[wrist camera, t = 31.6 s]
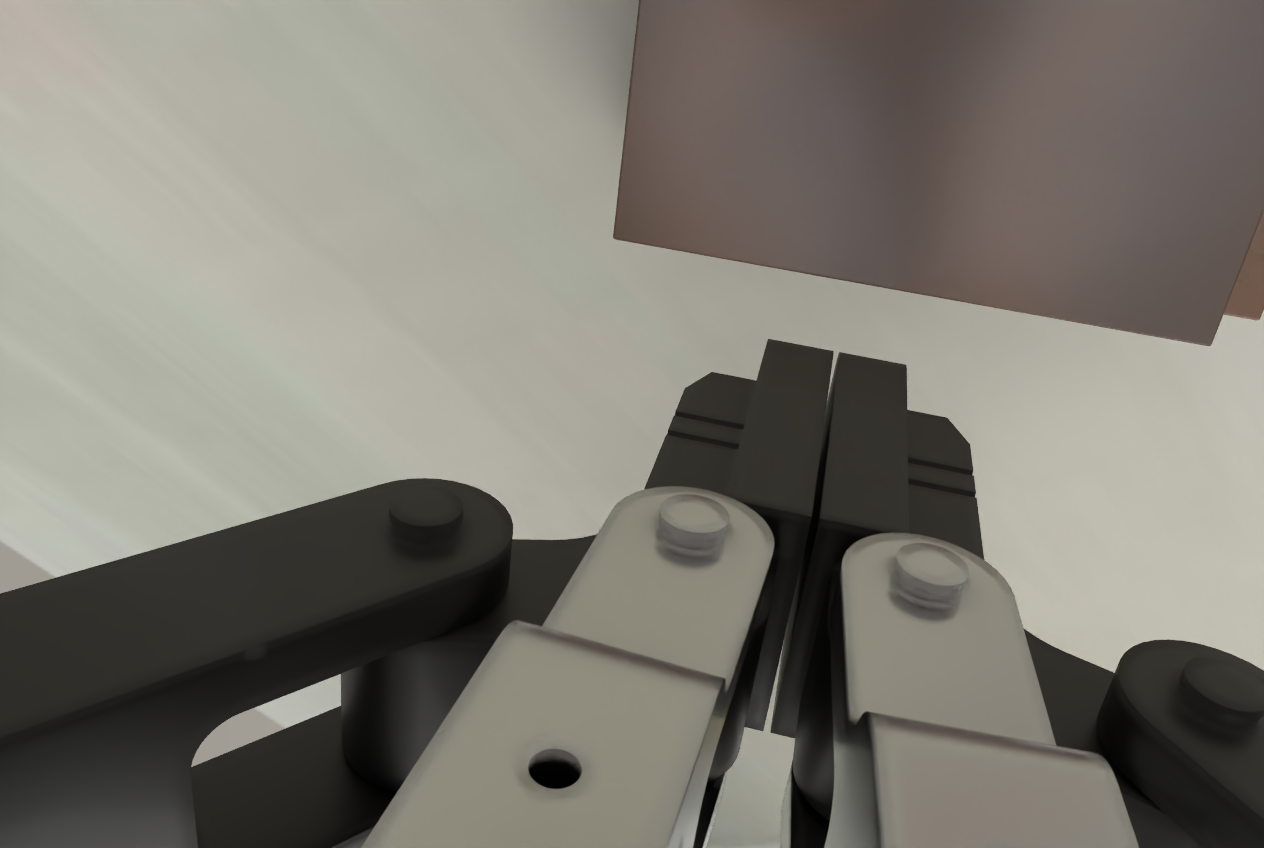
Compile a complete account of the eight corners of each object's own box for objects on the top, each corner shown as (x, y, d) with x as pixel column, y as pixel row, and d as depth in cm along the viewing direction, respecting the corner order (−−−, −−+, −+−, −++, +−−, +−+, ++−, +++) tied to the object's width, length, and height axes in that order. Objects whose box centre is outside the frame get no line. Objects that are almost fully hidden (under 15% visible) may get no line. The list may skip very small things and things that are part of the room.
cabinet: (1313, -206, 29) (1436, -227, 22) (1151, 254, 35) (1211, 347, 28) (721, -275, 31) (672, -312, 24) (664, 171, 37) (612, 239, 30)
